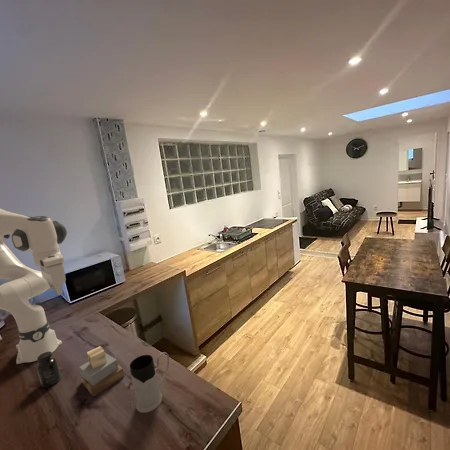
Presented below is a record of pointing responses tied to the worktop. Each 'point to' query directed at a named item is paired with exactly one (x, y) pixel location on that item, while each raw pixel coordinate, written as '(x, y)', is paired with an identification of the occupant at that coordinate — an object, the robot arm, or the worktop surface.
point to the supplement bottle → (48, 369)
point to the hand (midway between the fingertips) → (56, 291)
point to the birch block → (96, 357)
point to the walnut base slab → (103, 381)
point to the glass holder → (146, 382)
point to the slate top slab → (99, 370)
